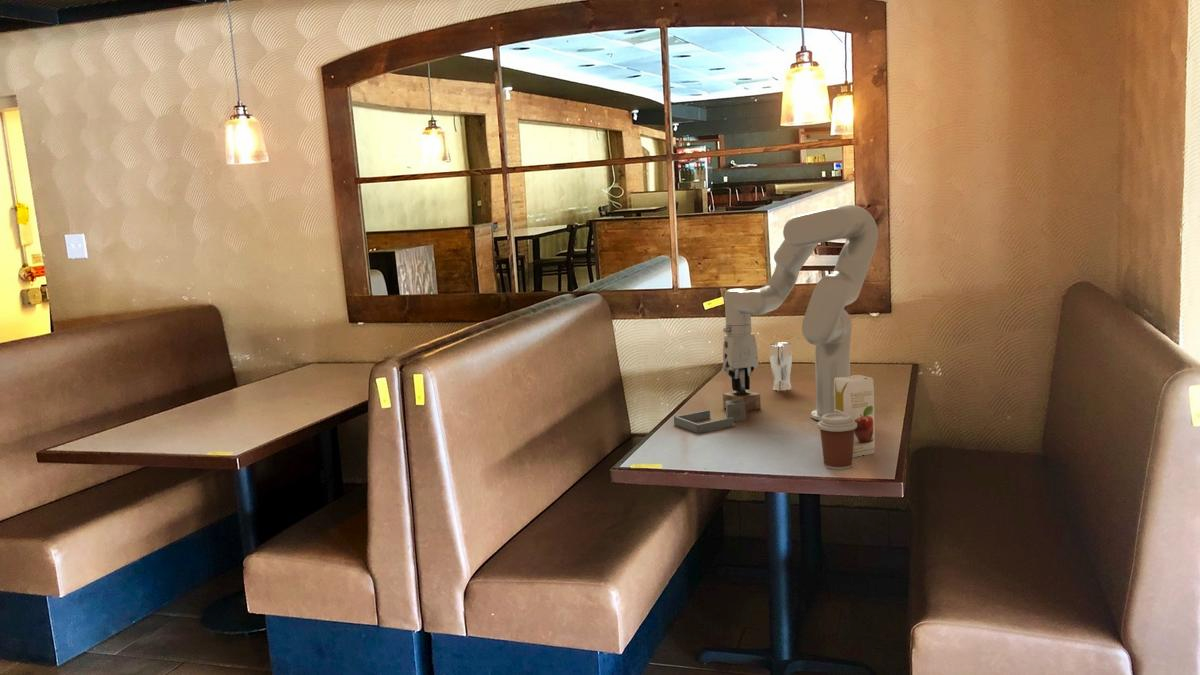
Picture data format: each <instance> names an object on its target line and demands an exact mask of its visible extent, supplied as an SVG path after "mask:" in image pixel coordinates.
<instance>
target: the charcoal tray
mask: <svg viewBox="0 0 1200 675" xmlns="http://www.w3.org/2000/svg"><path fill="white" fill-rule="evenodd" d="M709 419H711V411H710V409H706V410H700V411H696V412H691V413H690V412H689V413H686V414H680V415H676V416H674V417H673V422H674V424H673V425H675V426H676V427H680V428H682V429H685V430H687V431H690V432H693V433H697V434H702V433H706V432H711V431H716V429H717V430H721V429H720V428H722V429H725V428H724V427H726V428H730V427H729V426H731V427H734V426H735V421H734V418H733V417H730V418H726V417H725V418H721V419H718V420H711V421H707V422H702V423H697V422H698V421H704V420H709ZM733 425H734V426H733Z"/></svg>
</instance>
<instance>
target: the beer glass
mask: <svg viewBox="0 0 1200 675" xmlns="http://www.w3.org/2000/svg"><path fill="white" fill-rule="evenodd" d="M769 345H770V346H769V347H770V348H769V360H770V362H769V363H770V367H771V371H772V378H773V384H772V390H773V391H774V390H777V391H776V392H787V391H786V390H788V391H791V390H792V384H791V371H792V370H791V369H792V363H793V362H792V361H793V356H792V354H793V353H792V352H793V351H792V347H791V345H792V344H791V343H790V342H774V343H773V342H772V343H770V344H769ZM790 389H791V390H790Z"/></svg>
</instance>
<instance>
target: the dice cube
mask: <svg viewBox="0 0 1200 675" xmlns="http://www.w3.org/2000/svg"><path fill="white" fill-rule="evenodd" d="M726 417H727V418H730V417H733V418H734V422H736V421H735V420H746V411H745V403H744V401H743V400H732V401H726V409H725V418H726Z"/></svg>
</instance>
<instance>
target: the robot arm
mask: <svg viewBox="0 0 1200 675" xmlns="http://www.w3.org/2000/svg"><path fill="white" fill-rule="evenodd" d="M782 234H783V238H784V239H783V241H782V242H781V244H780V246H779V247H778V249H777V250H776V251H775V252H774V255H773V259H774V262H775V265H776V266H775V270H774V272H773V273H772V275H771V277H770V278H769V279H768V281H767V283H766V284H765V286H762V287H759V288H755V289H752V290H751V289H750V290H749V289H747V288H742V287H741V288H740V287H739V288H730V289H727V290H726V291H725V292H724V310H725V312H724V314H725V327H724V328H723V329H722V331H723V333H724V334H725V335H724V338H723V349H722V363H723V364H722V368H721V372H722V373H724V374H727V375H728V376H729V378H731V389H732V391H733V392H734V391H738V392H739V391H740V378H738V369H741V368H745V385H746V390H747V391H750V388H751V387H750V386H751V383H750V382H751V380H750V377H751V376H752V373H753V372H754V370H755V369H756V368H758V367H759V356H758V354H759V353H758V346H757V341H756V336H755V334H754V332H752V316H761V315H764V314H767V313H770V312H773V311H775V310H777V309H778V308H780V307H781V305H782V304H783V303H784V302H785V300H786V299H787V298H788V296H790V293H791V291H792V290H793V289H794V287H795V285H796V283H797V280H798V278H799V274H800V271H801V269H802V267H803V266H804V265H805V263H806V262H807V260H808V259H809V257H810V256H811V254H812V253H813V252H814V251H815V249H816V248H817V246H818V245H819V244H821V243H825V242H829V241H830V242H831V241H835V240H841V239H845V242H844V245H843V246H842V249H841V251H840V252H839V255H838V258H837V262H836V263H835V266H834V269H833V270H832V272H831V273H829V274H826V275H825V276H823V277H822V278H820V279H819V281H818V282H816V285H815V287H814V288H813V291H812V294H811V295H810V296H811V297H810V300H809V302H808V305H807V308H806V311H805V314H804V317H803V320H802V324H801V331H802V335H803V337H804V339H805V340H806V342H808V343H809V344H810V345H813V346H815V348H814V350H815V352H814V365H815V367H814V373H815V399H816V400H815V406H816V407H815V408H816V409H814V410H812V411H811V412H810V416H811V418H812V419H814V420H816V421H818V422H819V421H821V420H822V416H823V415H825V414H829V413H834V378H839V377H849V376H851V351H850V350H851V340H852V339H851V338H852V337H851V336H852V327H853V326H852V319H851V316H850V314H849V313H848V312H847V310H845V308H846V306H848V305H851V304H852V303H854V302H855V301H857V299H858V298H859V296H860V293H861V291H862V288H863V286H864V282H865V280H866V277H867V274H868V271H869V268H870V264H871V261H872V258H873V256H874V253H875V251H876V247H877V243H878V240H879V239H878V238H879V231H878V227H877V223H876V221H875V219H874V217H873V216H872V214H870V212H869V211H868V210H867V209H865V208H864V207H862V206H860V205H855V204H850V205H841V206H835V207H831V208H826V209H822V210H818V211H812V212H809V213H804V214H798V215H795V216H793V217H790V218H789V219H788V220H787V221H786V223H785V224H784V226H783V230H782Z"/></svg>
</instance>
